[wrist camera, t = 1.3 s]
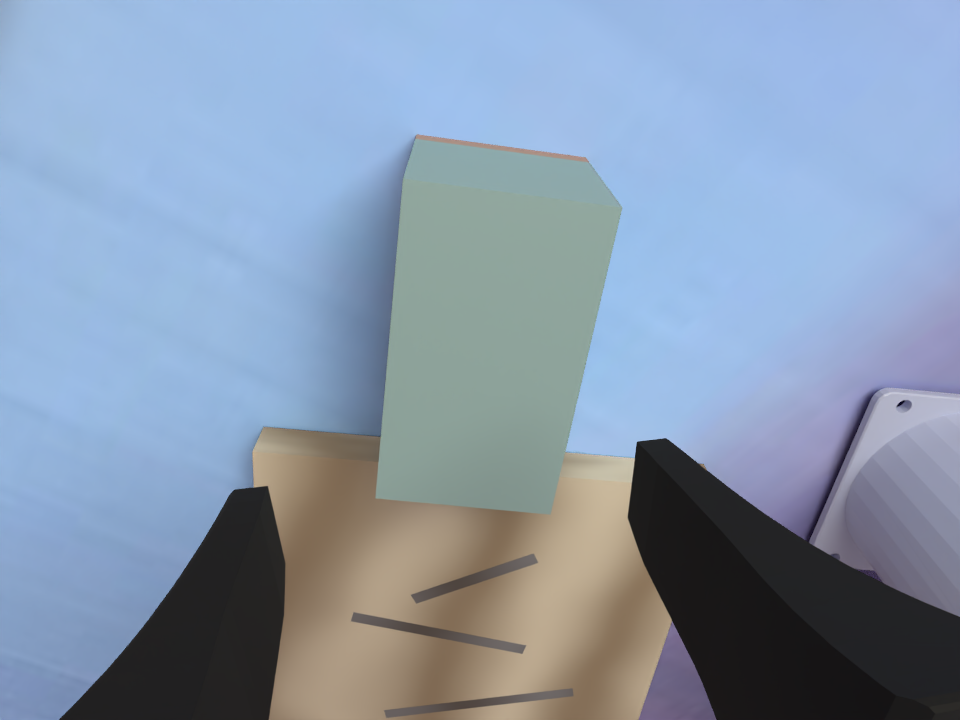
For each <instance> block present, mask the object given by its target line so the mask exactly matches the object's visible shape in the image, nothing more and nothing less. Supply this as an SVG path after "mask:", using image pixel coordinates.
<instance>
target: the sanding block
mask: <svg viewBox="0 0 960 720" xmlns="http://www.w3.org/2000/svg"><path fill="white" fill-rule="evenodd" d="M621 211H622V206H621V205H620V204H619V202H618V201H617V200H616V198H615V197H614V195H613V194H612V193H611V191H610V190H609V189H608V187H607V186H606V185H605V183H604V182H603V180H602V179H601V178H600V176H599V175H598V174H597V172H596V171H595V169H594V168H593V167H592V165H591V164H590V163H589V161H588V160H587V159H586V158H585V157H578V156H571V155H563V154H556V153H549V152H541V151H534V150H527V149H519V148H512V147H505V146H497V145H490V144H483V143H475V142H468V141H461V140H453V139H446V138H439V137H431V136H424V135H416V138H415V142H414V145H413V148H412V151H411V154H410V158H409V161H408V164H407V167H406V171H405V174H404V177H403V184H402V196H401V208H400V219H399V231H398V242H397V254H396V266H395V277H394V289H393V300H392V312H391V324H390V335H389V347H388V358H387V370H386V381H385V393H384V405H383V416H382V428H381V439H380V451H379V463H378V474H377V486H376V497H375V498H378V499H388V500H399V501H410V502H420V503H431V504H442V505H453V506H463V507H474V508H485V509H495V510H506V511H517V512H528V513H538V514H549V515H551V511H552V506H553V502H554V498H555V493H556V489H557V485H558V481H559V476H560V472H561V468H562V463H563V459H564V455H565V451H566V446H567V442H568V438H569V433H570V429H571V425H572V421H573V416H574V412H575V408H576V403H577V399H578V395H579V391H580V386H581V382H582V378H583V373H584V369H585V365H586V361H587V356H588V352H589V348H590V343H591V339H592V335H593V331H594V326H595V322H596V318H597V313H598V309H599V305H600V301H601V296H602V292H603V288H604V283H605V279H606V275H607V271H608V266H609V262H610V258H611V253H612V249H613V245H614V241H615V236H616V232H617V228H618V223H619V219H620V215H621Z"/></svg>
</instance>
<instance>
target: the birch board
mask: <svg viewBox="0 0 960 720" xmlns="http://www.w3.org/2000/svg"><path fill="white" fill-rule="evenodd" d="M380 439H381V437H377V436H365V435H353V434H342V433H330V432H318V431H306V430H294V429H283V428H271V427H263V429H262V432H261V434H260V436H259V438H258V441H257V443H256V445H255V447H254V449H253V478H254V487H262V486H268V488H269V493H270V497H271V502H272V506H273V510H274V515H275V519H276V524H277V528H278V532H279V537H280V541H281V546H282V550H283V554H284V559H285V563H286V564H285V605H284V619H283V626H282V633H281V640H280V647H279V654H278V661H277V668H276V674H275V681H274V688H273V695H272V701H271V708H270V715H269V720H638V719H639V716H640V713H641V710H642V707H643V704H644V701H645V698H646V696H647V693H648V690H649V687H650V684H651V681H652V678H653V675H654V672H655V669H656V666H657V663H658V660H659V657H660V654H661V652H662V649H663V646H664V643H665V640H666V637H667V634H668V631H669V628H670V625H671V622H672V619H671V617H670V615H669V613H668V611H667V610H666V608H665V606H664V604H663V602H662V600H661V598H660V596H659V594H658V592H657V590H656V588H655V586H654V584H653V582H652V580H651V578H650V576H649V574H648V572H647V569H646V567H645V565H644V563H643V561H642V558H641V555H640V552H639V550H638V547H637V544H636V541H635V538H634V535H633V533H632V530H631V527H630V524H629V521H628V518H627V517H628V509H629V501H630V493H631V485H632V477H633V469H634V461H635V458H625V457H613V456H601V455H590V454H578V453H566V452H565V455H564V459H563V463H562V468H561V472H560V476H559V481H558V485H557V489H556V493H555V498H554V502H553V506H552V511H551V515H549V514H538V513H528V512H517V511H506V510H495V509H485V508H474V507H463V506H453V505H442V504H431V503H420V502H410V501H399V500H388V499H378V498H375V497H376V486H377V474H378V463H379V451H380ZM699 465H701V466H702V467H703V468H705V466H704V464H699ZM705 469H706V468H705Z"/></svg>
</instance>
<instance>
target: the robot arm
mask: <svg viewBox="0 0 960 720" xmlns="http://www.w3.org/2000/svg"><path fill="white" fill-rule="evenodd" d="M903 400H905V402H904V403H903V404H902V405H901V406H899V407H897V405H898V403H899V402H901V401H903ZM627 518H628V521H629V524H630V527H631V530H632V533H633V535H634V538H635V541H636V544H637V547H638V550H639V552H640V555H641V558H642V561H643V563H644V565H645V567H646V569H647V572H648V574H649V576H650V578H651V580H652V582H653V584H654V586H655V588H656V590H657V592H658V594H659V596H660V598H661V600H662V602H663V604H664V606H665V608H666V610H667V611H668V613H669V615H670V617H671V619H672V621H673V623H674V625H675V627H676V629H677V631H678V633H679V635H680V637H681V639H682V641H683V643H684V645H685V647H686V649H687V651H688V653H689V655H690V657H691V659H692V661H693V663H694V665H695V667H696V670H697V672H698V674H699V676H700V678H701V681H702V683H703V685H704V688H705V691H706V693H707V696H708V698H709V701H710V704H711V706H712V709H713V711H714V714H715V717H716V719H717V720H960V394H952V393H942V392H931V391H921V390H910V389H900V388H884V389H881V390H879V391H878V392H876V393H875V394H874V395H873V397H872V398H871V401H870V403H869V405H868V407H867V410H866V412H865V414H864V417H863V419H862V421H861V423H860V426H859V428H858V430H857V433H856V435H855V437H854V440H853V442H852V444H851V446H850V449H849V451H848V453H847V456H846V458H845V460H844V463H843V465H842V467H841V469H840V472H839V474H838V476H837V479H836V481H835V483H834V486H833V488H832V490H831V492H830V495H829V497H828V499H827V502H826V504H825V506H824V509H823V511H822V513H821V515H820V518H819V520H818V522H817V525H816V527H815V529H814V531H813V534H812V536H811V538H810V541H809V543H808V542H807V541H805V540H804V539H802V538H800V537H799V536H797V535H796V534H794V533H793V532H791V531H790V530H788V529H787V528H785V527H784V526H782V525H781V524H779V523H778V522H776V521H775V520H773V519H772V518H770V517H769V516H767V515H766V514H764V513H763V512H762V511H760V510H759V509H757V508H756V507H754V506H753V505H752V504H750V503H749V502H748V501H746V500H745V499H743V498H742V497H741V496H739V495H738V494H737V493H735V492H734V491H733V490H731V489H730V488H729V487H728V486H726V485H725V484H724V483H722V482H721V481H720V480H718V479H717V478H716V477H715V476H713V475H712V474H711V473H710V472H708V471H707V470H706V469H705V468H703V467H702V466H701V465H699V464H698V463H697V462H696V461H694V460H693V459H692V458H691V457H689V456H688V455H687V454H686V453H684V452H683V451H682V450H681V449H679V448H678V447H677V446H676V445H674V444H673V443H672V442H670V441H669V440H668V439H666V438H664V439H656V440H648V441H639V442H637V446H636V454H635V461H634V469H633V477H632V485H631V493H630V501H629V509H628V517H627ZM831 554H833V555H831ZM285 564H286V563H285V559H284V554H283V550H282V546H281V541H280V537H279V532H278V528H277V524H276V519H275V515H274V510H273V506H272V502H271V497H270V493H269V488H268V486H262V487H254V488H246V489H237V490H234V491H233V492H232V493H231V494H230V495H229V497H228V499H227V500H226V502H225V504H224V506H223V508H222V509H221V511H220V513H219V515H218V517H217V518H216V520H215V522H214V523H213V525H212V527H211V528H210V530H209V532H208V533H207V535H206V537H205V538H204V540H203V542H202V543H201V545H200V546H199V548H198V550H197V551H196V553H195V554H194V556H193V557H192V559H191V560H190V562H189V563H188V565H187V566H186V568H185V569H184V571H183V572H182V574H181V576H180V577H179V579H178V580H177V581H176V583H175V584H174V586H173V587H172V588H171V590H170V591H169V593H168V594H167V595H166V597H165V598H164V599H163V601H162V602H161V603H160V605H159V606H158V608H157V609H156V610H155V612H154V613H153V614H152V616H151V617H150V618H149V620H148V621H147V622H146V624H145V625H144V626H143V627H142V629H141V630H140V631H139V632H138V634H137V635H136V636H135V637H134V639H133V640H132V641H131V642H130V644H129V645H128V646H127V647H126V648H125V649H124V651H123V652H122V653H121V654H120V655H119V656H118V658H117V659H116V660H115V661H114V662H113V663H112V665H111V666H110V667H109V668H108V669H107V670H106V671H105V672H104V673H103V675H102V676H101V677H100V678H99V679H98V680H97V681H96V682H95V683H94V684H93V685H92V686H91V687H90V688H89V689H88V691H87V692H86V693H85V694H84V695H83V696H82V697H81V698H80V699H79V700H78V701H77V702H76V703H75V704H74V705H73V706H72V707H71V708H70V709H69V710H68V711H67V712H66V713H65V714H64V715H63V716H62V717H61V718H60V719H59V720H269V715H270V708H271V701H272V695H273V688H274V681H275V674H276V668H277V661H278V654H279V647H280V640H281V633H282V626H283V619H284V605H285ZM856 569H859V570H873V571H875V572H876V573H877V575H878V576H879V578H880V579H881V580H882V582H883V583H882V582H880V581H878V580H876V579H874V578H872V577H870V576H868V575H866V574H864V573H862V572H860V571H858V570H856Z"/></svg>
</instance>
